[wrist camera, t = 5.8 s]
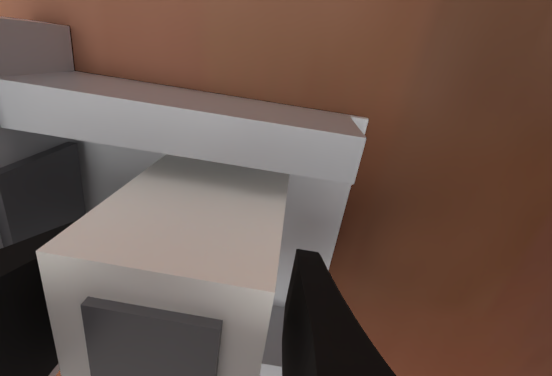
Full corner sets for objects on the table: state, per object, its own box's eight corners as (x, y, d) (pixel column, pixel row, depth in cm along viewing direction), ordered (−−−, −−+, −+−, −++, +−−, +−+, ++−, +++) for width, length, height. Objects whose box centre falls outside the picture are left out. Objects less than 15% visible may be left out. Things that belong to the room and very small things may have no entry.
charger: (290, 167, 11) (273, 301, 5) (273, 262, 12) (246, 445, 6) (174, 148, 11) (25, 258, 5) (173, 245, 12) (60, 411, 7)
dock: (377, 74, 9) (426, 89, 6) (306, 347, 14) (308, 448, 11) (31, 20, 10) (-136, -1, 6) (76, 309, 14) (0, 396, 11)
